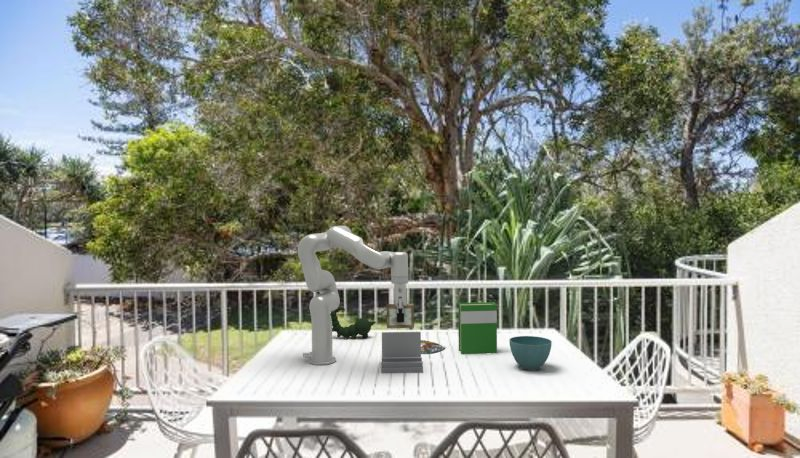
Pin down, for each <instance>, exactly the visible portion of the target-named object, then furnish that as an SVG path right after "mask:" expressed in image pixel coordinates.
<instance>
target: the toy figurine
mask: <svg viewBox="0 0 800 458" xmlns="http://www.w3.org/2000/svg"><path fill="white" fill-rule="evenodd" d="M340 311H345V312H346V309H345V308H344V307H343V306H339V307H338V308H337V309H336V310H334V311H332V312H330V316H331V320H332V333H335V332H336V334H337V335H336V337H337V338H341V337H343V338H344V339H345V340H348V339H349V338H350V337H351V338H352V339H356V338H357V336H358V335H359V336H362V338H363V339H368V337H369V334H368V333H370V332H371V329H372V326H374V325H375V324H376V323H377V321H374V320H373V321H371V320H368V319H367V318H366V317H361V318H357V320H355V321H354V323H352V324H349V325H348V326H342V325H341V324H340V321H339V318H338V315H337V313H339V312H340Z"/></svg>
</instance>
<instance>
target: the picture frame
mask: <svg viewBox="0 0 800 458" xmlns="http://www.w3.org/2000/svg"><path fill="white" fill-rule="evenodd" d="M398 306H399V305H398ZM402 306H403V313H404V322H397V306H396V304H395V303H391V304H390V303H387V304H386V329H415V305H414V303H407V306H405V305H404V304H403V305H402ZM398 312H399V310H398Z"/></svg>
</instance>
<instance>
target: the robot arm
mask: <svg viewBox="0 0 800 458" xmlns="http://www.w3.org/2000/svg"><path fill="white" fill-rule="evenodd" d="M336 247H337V248H339V249H342V250H344V252H347V253H349V254H351V255H353V257H354V258H356V260H358V262H360V263H362V264H364V265H366V266H367V267H369V268H371V269H374V270H383V269H387V268H390V277H391V278H390V279H391V283H390V284H392V285H393V288H394V289H393V293H394V294H393V295H394V304H396V306H397V322H404V313H403V306H402V305H403V304H404V305H405V306H407V304H408V302H407V301H408V300H407V284H409V254H408V253H407V252H405V251H395V252H394V251H389V250H388V251H387V250H386V251H385V250H384V251H376V250H374V249H373V248H371V247H368V246H367V245H366V244H365V243H364V240H363V238H362V237H360V235H359V236H358V235H356V234H355V233H352V230H351V229H350V228H349V227H348V226H346V225H335V226H334V225H333V226H331V227H330V228H329V229H328V230H327V231H325V232H321V233H310V234H307V235H305V236H303V237H302V239H301V240H300V241H299V243H298V245H297V254H298V255H297V256H298V258H299V261H300V265H301V269H302V272H303V276H304V280H305V285H306V287H307V288H308V290H309V291H310V292H311V293H318V292H319V294H316V295H315V296H313V297H312V298H311V300H310V302H309V305H308V307H309V313H310V320H311V352H310V351H309V352H302V357H303V358H305V359H308V358H309V359H308V363H309V364H311V365H317V366H319V365H320V366H321V365H322V366H324V365H331V364H333V363H336V361H337V358H336V357H335V356H333V332H332V328H333V326H332V320H331V316H330V313H331V312H332V311H335V310H336V309H337V308H338V307H340V302H341V301H340V295H339V290H338V288H337V287H338V286H337V284H336V279H335V277H334V275H333V273H331V272H330V271H328V270H326V269H325V270H324V269H322V267H321V262H320V259H319V258H318V256H317V254H316V253H317V252H325V251H328V250H331V249H334V248H336ZM398 305H399V306H398ZM398 310H399V312H398Z"/></svg>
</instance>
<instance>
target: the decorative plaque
mask: <svg viewBox="0 0 800 458" xmlns="http://www.w3.org/2000/svg"><path fill="white" fill-rule="evenodd" d="M445 349H446V347H445V346H444V345H442V344H441V343H437V342H432V341H429V340H424V339H423V340H422V339H421V355H430V354H436V353H439V352H442V351H444V350H445Z"/></svg>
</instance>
